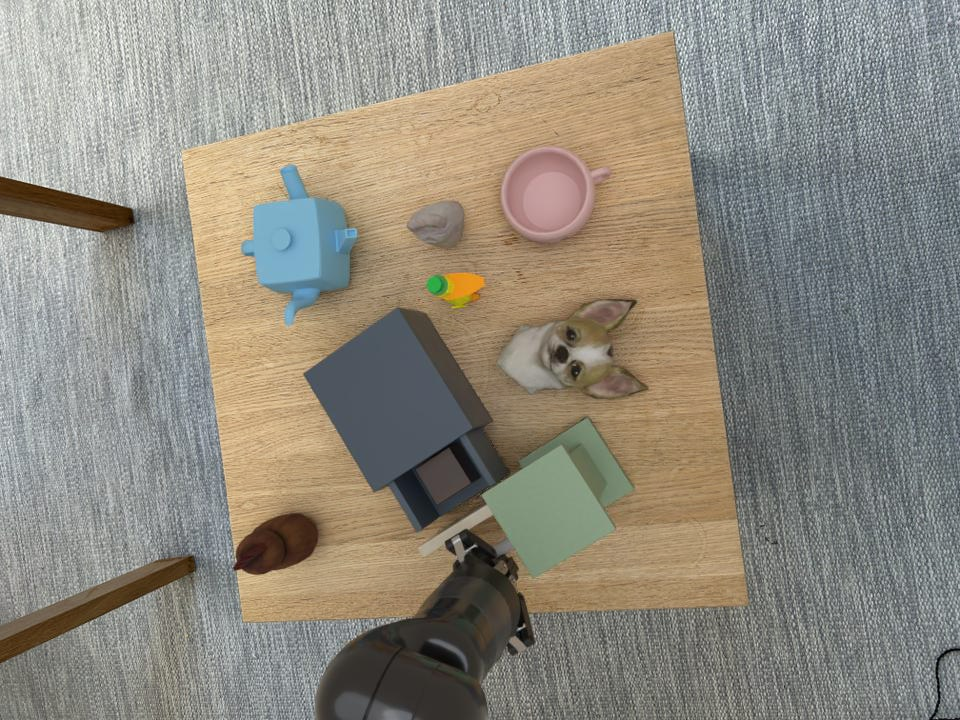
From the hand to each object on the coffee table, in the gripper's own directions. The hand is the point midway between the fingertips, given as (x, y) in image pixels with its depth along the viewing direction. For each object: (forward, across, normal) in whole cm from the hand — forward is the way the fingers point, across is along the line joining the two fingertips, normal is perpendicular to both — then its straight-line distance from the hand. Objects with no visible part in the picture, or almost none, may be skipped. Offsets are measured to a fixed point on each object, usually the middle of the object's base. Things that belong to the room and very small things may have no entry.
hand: (507, 567), depth 81 cm
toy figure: (+5, -27, +12) cm, 30 cm away
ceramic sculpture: (+5, -15, +18) cm, 24 cm away
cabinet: (+5, -21, 0) cm, 22 cm away
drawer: (+4, -10, 0) cm, 11 cm away
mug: (+5, -30, +26) cm, 40 cm away
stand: (+5, -4, +11) cm, 12 cm away
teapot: (+5, -41, 0) cm, 41 cm away
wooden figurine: (+5, -15, -21) cm, 27 cm away
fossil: (+5, -34, +14) cm, 37 cm away
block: (+3, -12, 0) cm, 12 cm away
